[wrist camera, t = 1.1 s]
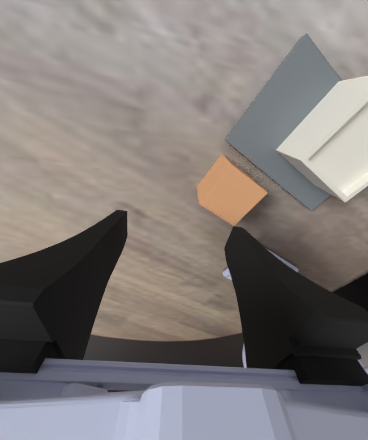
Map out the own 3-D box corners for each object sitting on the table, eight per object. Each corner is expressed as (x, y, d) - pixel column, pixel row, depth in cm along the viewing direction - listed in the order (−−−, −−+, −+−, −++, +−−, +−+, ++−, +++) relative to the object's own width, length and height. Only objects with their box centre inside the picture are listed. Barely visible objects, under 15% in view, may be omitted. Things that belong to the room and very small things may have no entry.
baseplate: (383, 145, 18) (391, 146, 17) (307, 207, 22) (311, 210, 21) (300, 37, 14) (306, 33, 13) (224, 139, 18) (226, 140, 17)
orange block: (251, 177, 20) (268, 192, 16) (225, 206, 22) (233, 225, 18) (221, 153, 18) (231, 164, 15) (196, 186, 20) (199, 203, 17)
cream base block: (376, 131, 16) (433, 136, 13) (314, 185, 19) (345, 202, 16) (338, 81, 14) (392, 70, 11) (275, 150, 17) (300, 160, 14)
